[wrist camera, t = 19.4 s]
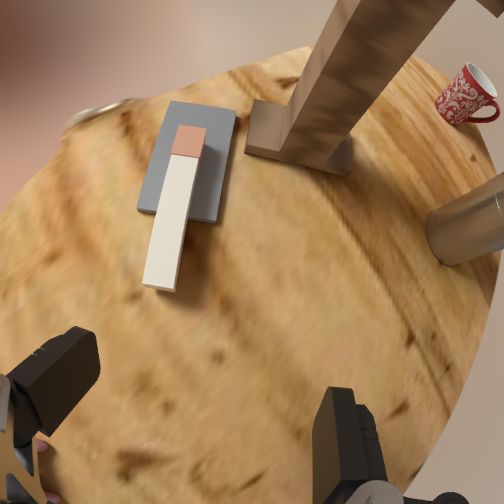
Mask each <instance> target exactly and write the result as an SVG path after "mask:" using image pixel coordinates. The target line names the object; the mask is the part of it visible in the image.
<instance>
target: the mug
mask: <svg viewBox="0 0 504 504" xmlns="http://www.w3.org/2000/svg"><path fill="white" fill-rule="evenodd" d="M496 97H497V93H496V90H495V88H494V86H493V85H492V83H491V82H490V81H489V79H488V78H487V77H486V76H485V75H484V74H483V72H481V70H480V69H478V68H477V67H476V66H475V65H473V64H472V63H469V62H467V63H466V65H465V67H464V68H463V69H462V70H461V71H460V73H459V74H458V75H457V76H456V77H455V78H454V80H453V81H452V82H451V83H450V84H449V85H448V87H447V88H446V89H445V90H444V91H443V92H442V94H441V95H440V96H439V97H438V98H437V99H436V101H435V106H436V108H437V110H438V112H439V113H440V115H441V116H442V117H443V118H444V119H445V120H446V121H447V122H448V123H450V124H452V125H454V126H456V125H458V124H460V123H461V122H462V121H464V122H472V123H489V122H492V121H494V120H496V119H497V118H498V117H499V115H500V108H499V106H498V104H497V103H496V102H495V101H493V100H492V99H493V98H496ZM488 105H491V106H494V107H495V108H496V110H497V111H496V113H495V114H494V115H493V116H491V117H486V118H474V117H470V115H472V114H473V113H474V112H476V111H477V110H478V109H480V108H481V107H482V106H488Z"/></svg>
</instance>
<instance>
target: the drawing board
mask: <svg viewBox="0 0 504 504" xmlns="http://www.w3.org/2000/svg"><path fill="white" fill-rule="evenodd" d="M236 112H237V111H235V110H229V109H224V108H218V107H212V106H205V105H199V104H192V103H185V102H177V101H171V102H170V105H169V107H168V110H167V113H166V115H165V118H164V121H163V124H162V126H161V129H160V132H159V135H158V138H157V141H156V144H155V147H154V150H153V153H152V156H151V160H150V163H149V166H148V169H147V173H146V176H145V179H144V183H143V186H142V190H141V194H140V197H139V201H138V205H137V210H138V211H140V212H146V213H152V214H156V213H157V208H158V204H159V200H160V196H161V192H162V188H163V184H164V180H165V176H166V173H167V169H168V165H169V162H170V158H171V150H172V147H173V143H174V140H175V137H176V133H177V130H178V127H179V125H187V126H194V127H200V128H207V130H206V139H205V146H204V150H203V154H202V159H201V163H200V168H199V171H198V173H197V177H196V182H195V186H194V191H193V196H192V201H191V206H190V211H189V216H188V219H189V220H196V221H202V222H207V223H213V224H215V223H216V218H217V212H218V206H219V201H220V195H221V189H222V184H223V178H224V173H225V167H226V162H227V157H228V152H229V146H230V141H231V136H232V131H233V126H234V121H235V116H236Z"/></svg>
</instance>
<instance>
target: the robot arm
mask: <svg viewBox="0 0 504 504" xmlns="http://www.w3.org/2000/svg"><path fill="white" fill-rule="evenodd" d="M427 235H428V240H429V244H430V246H431V249H432V251H433V252H434V254H435V256H436V257H437V258H438V259H439V260H440V261H441V262H442V263H443V264H445V265H449V266H452V265H456V264H459V263H463V262H466V261H469V260H472V259H475V258H478V257H481V256H484V255H487V254H490V253H493V252H496V251H499V250H502V249H504V172H503V173H501V174H499V175H498V176H496V177H494V178H493V179H491V180H489V181H487V182H486V183H484V184H482V185H480V186H479V187H477V188H475V189H473V190H472V191H470V192H468V193H466V194H464V195H463V196H461V197H459V198H457V199H455V200H454V201H452V202H450V203H448V204H446V205H444V206H443V207H441V208H439V209H437V210H435V211H434V212H432V213H431V215H430V216H429V219H428V222H427ZM100 369H101V367H100V360H99V354H98V347H97V341H96V336H95V334H94V333H93V332H91V331H88V330H86V329H83V328H80V327H78V326H74V327H72V328H71V329H70V330H68V331H67V332H66V333H65V334H63V335H59V336H57V337H54V338H52V339H49V340H48V341H47V342H46V343H44V344H43V345H42V346H41V347H40V349H39V348H38V349H37V350H36V351H35V352H33V355H32V354H31V355H30V356H29V357H27V358H26V359H25V360H24V361H23V362H21V363H20V364H19V365H18V366H17V367H15V368H14V369H13V370H12V371H11V372H10V373H8V374H7V375H6V376H5V375H3V374H0V504H55V503H53V502H51V501H50V500H48V501H47V499H46V496H45V494H44V491H43V489H42V487H41V484H40V478H39V468H38V456H37V440H36V437H35V434H36V433H37V432H38V431H40V432H41V433H43V434H44V435H46V436H48V437H49V438H50V436H51V435H52V434H53V433H54V432H55V430H56V429H57V428H58V427H59V425H60V424H61V423H62V422H63V421H64V419H65V418H66V417H67V416H68V414H69V413H70V412H71V411H72V410H73V408H74V407H75V406H76V405H77V404H78V402H79V401H80V400H81V399H82V398H83V397H84V395H85V394H86V393H87V392H88V391H89V389H90V388H91V387H92V386H93V385H94V384H95V382H96V381H97V380H98V377H99V375H100ZM378 439H379V438H378V434H377V431H376V425H375V421H374V417H373V415H372V414H371V413H370V411H369V410H368V409H367V407H366V406H365V405H360V404H356V403H355V398H354V393H353V390H352V389H351V388H341V387H330V386H329V387H328V388H327V390H326V392H325V395H324V398H323V400H322V403H321V405H320V408H319V410H318V412H317V415H316V417H315V420H314V424H313V431H312V448H313V504H469V503H468V501H467V500H466V499H465V497H463V496H462V495H460V494H458V493H455V492H446V493H443V494H441V495H439V496H437V497H436V498H435V499H434V500H433V501H426V500H419V499H413V498H408V497H404V496H402V494H401V492H400V490H399V489H398V488H397V487H396V486H394V485H393V484H391V483H389V482H388V479H387V474H386V469H385V465H384V460H383V455H382V451H381V446H380V442H379V441H378Z"/></svg>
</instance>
